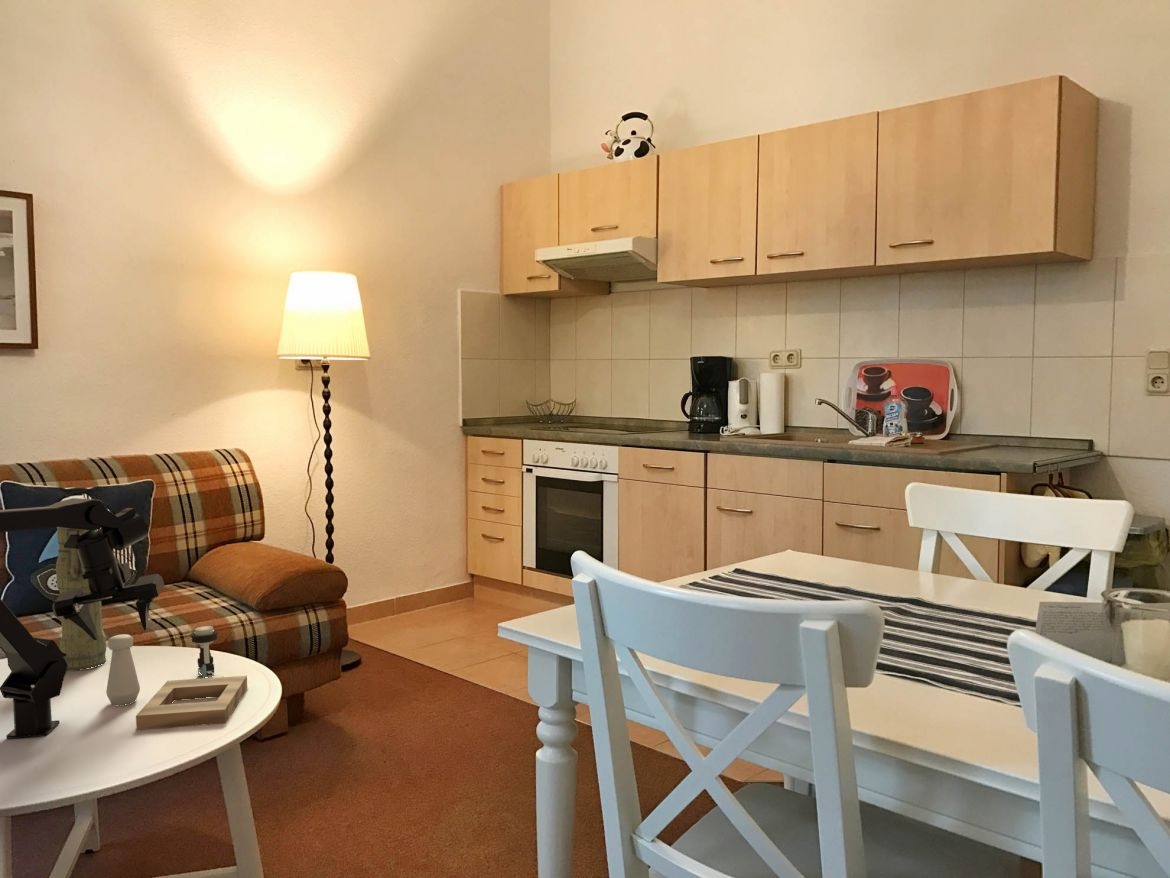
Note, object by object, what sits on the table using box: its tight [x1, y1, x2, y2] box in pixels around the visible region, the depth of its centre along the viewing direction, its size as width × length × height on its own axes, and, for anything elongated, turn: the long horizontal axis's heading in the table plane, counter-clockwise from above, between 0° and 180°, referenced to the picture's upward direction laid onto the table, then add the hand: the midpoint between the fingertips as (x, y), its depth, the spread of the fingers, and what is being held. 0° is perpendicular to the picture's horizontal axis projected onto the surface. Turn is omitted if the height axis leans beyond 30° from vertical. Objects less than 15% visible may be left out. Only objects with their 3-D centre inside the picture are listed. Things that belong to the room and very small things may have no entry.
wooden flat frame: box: [135, 675, 248, 731], centre depth 177 cm, size 20×15×2 cm
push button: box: [189, 625, 219, 678], centre depth 196 cm, size 7×5×10 cm
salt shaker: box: [105, 633, 141, 707], centre depth 181 cm, size 6×6×13 cm
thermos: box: [55, 527, 107, 671], centre depth 206 cm, size 9×12×35 cm
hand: (121, 634), depth 183 cm, fingers open, 9 cm apart
